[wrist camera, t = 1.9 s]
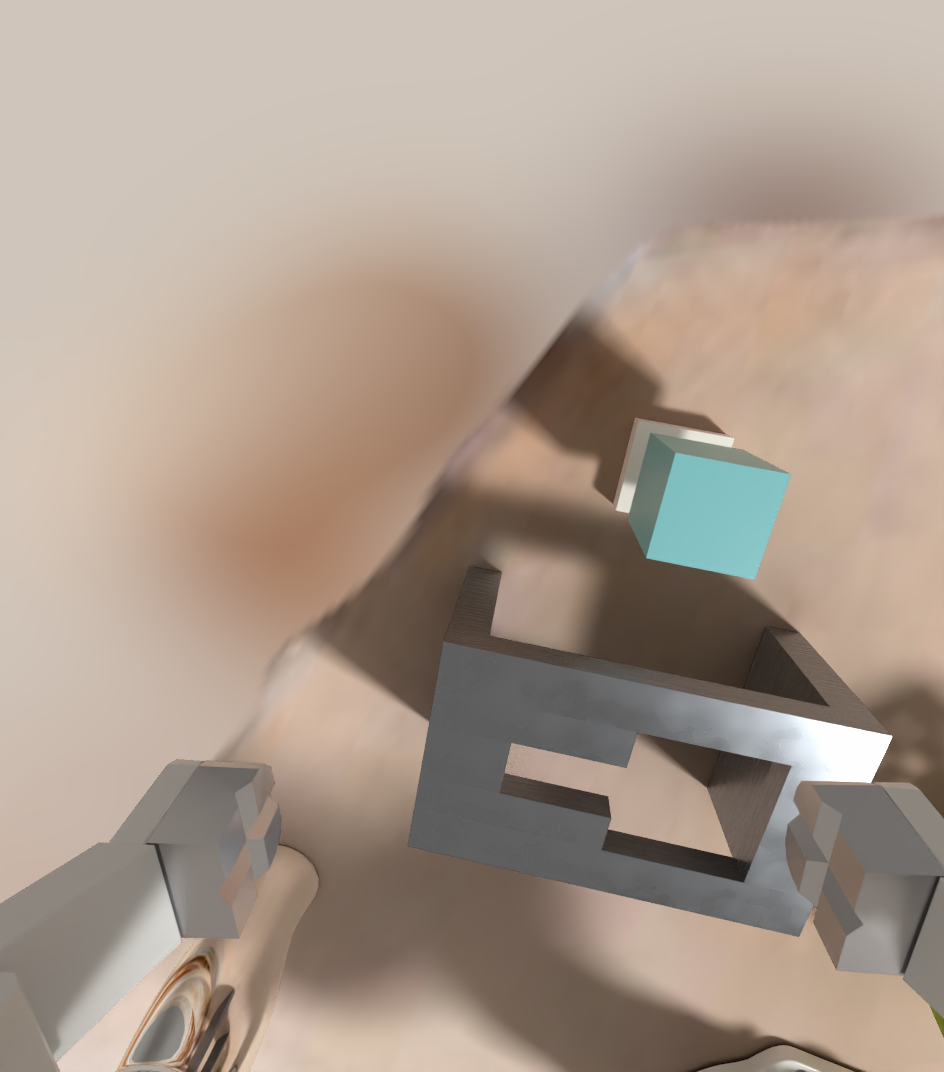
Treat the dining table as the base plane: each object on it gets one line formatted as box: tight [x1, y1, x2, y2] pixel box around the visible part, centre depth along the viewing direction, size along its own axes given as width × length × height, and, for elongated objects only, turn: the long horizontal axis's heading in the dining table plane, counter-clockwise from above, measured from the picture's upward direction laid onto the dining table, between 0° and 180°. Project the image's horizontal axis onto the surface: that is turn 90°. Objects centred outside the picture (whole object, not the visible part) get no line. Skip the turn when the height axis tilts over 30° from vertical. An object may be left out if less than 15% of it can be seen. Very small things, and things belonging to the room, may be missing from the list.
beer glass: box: [115, 845, 319, 1072], centre depth 39 cm, size 7×7×15 cm
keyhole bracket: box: [408, 566, 892, 937], centre depth 33 cm, size 20×12×10 cm, turn 80°
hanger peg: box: [613, 418, 791, 580], centre depth 29 cm, size 5×5×10 cm
